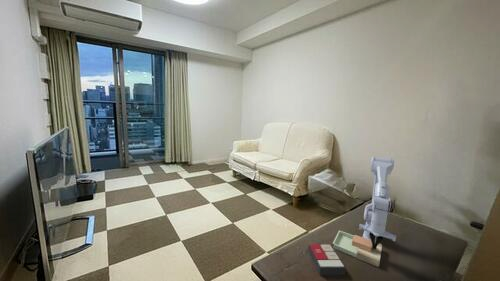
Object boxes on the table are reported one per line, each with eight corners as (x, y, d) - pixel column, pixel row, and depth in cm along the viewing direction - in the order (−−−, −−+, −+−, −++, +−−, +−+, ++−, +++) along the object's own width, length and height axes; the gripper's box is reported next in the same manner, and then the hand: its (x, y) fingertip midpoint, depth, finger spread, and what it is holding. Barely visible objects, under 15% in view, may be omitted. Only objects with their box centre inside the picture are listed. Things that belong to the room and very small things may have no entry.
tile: (353, 238, 105) (354, 234, 104) (371, 245, 100) (372, 240, 100) (351, 245, 100) (352, 240, 99) (370, 252, 95) (371, 247, 95)
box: (338, 233, 113) (339, 230, 113) (360, 242, 107) (361, 238, 106) (331, 247, 102) (332, 243, 102) (356, 257, 96) (356, 253, 95)
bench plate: (360, 242, 107) (361, 237, 106) (381, 249, 102) (382, 244, 101) (356, 257, 96) (357, 252, 95) (378, 267, 91) (379, 261, 90)
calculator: (330, 243, 100) (346, 266, 85) (329, 251, 101) (345, 275, 86) (308, 243, 100) (320, 266, 85) (307, 251, 100) (319, 275, 85)
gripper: (359, 220, 95) (355, 245, 98) (397, 232, 87) (392, 260, 90) (361, 213, 101) (358, 238, 104) (397, 224, 93) (392, 251, 95)
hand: (374, 247), depth 97 cm, fingers closed
